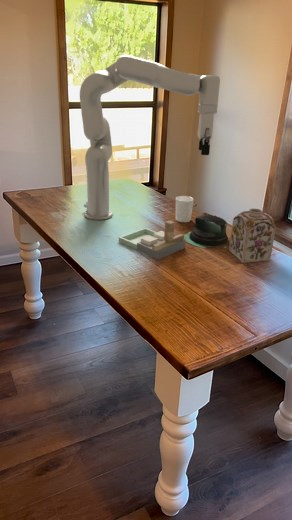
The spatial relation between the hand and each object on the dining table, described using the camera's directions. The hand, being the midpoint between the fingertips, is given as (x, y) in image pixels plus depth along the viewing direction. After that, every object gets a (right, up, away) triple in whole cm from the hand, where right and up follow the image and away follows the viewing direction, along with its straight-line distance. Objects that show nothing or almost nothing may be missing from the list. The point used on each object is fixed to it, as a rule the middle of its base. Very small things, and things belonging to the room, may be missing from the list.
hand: (203, 152), depth 176 cm
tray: (-26, -37, -8) cm, 46 cm away
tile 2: (-18, -36, -12) cm, 42 cm away
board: (-18, -41, -15) cm, 47 cm away
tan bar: (-16, -39, -18) cm, 46 cm away
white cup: (-7, -27, +15) cm, 32 cm away
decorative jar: (+15, -43, -17) cm, 49 cm away
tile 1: (-23, -38, -17) cm, 47 cm away
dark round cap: (+1, -36, -4) cm, 37 cm away
